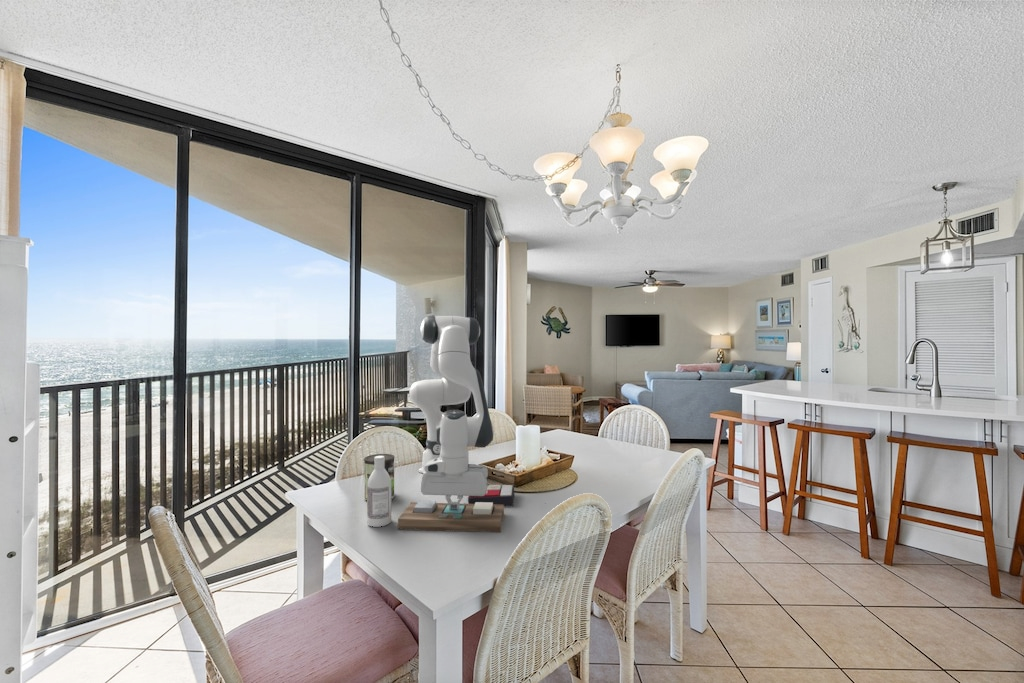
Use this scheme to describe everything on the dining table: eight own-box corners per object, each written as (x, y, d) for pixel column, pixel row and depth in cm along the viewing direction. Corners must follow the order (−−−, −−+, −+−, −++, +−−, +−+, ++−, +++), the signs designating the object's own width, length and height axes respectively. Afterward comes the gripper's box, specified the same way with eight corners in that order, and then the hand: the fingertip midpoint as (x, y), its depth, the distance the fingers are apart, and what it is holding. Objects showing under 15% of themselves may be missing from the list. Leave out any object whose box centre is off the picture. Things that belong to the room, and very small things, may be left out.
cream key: (475, 508, 136) (475, 502, 136) (493, 508, 135) (493, 502, 135) (472, 515, 130) (472, 508, 130) (491, 516, 130) (491, 509, 130)
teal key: (447, 511, 136) (447, 505, 136) (464, 512, 136) (464, 505, 136) (443, 518, 131) (443, 512, 131) (461, 519, 130) (461, 512, 130)
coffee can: (396, 491, 158) (396, 453, 158) (391, 502, 148) (391, 460, 148) (368, 492, 157) (368, 453, 157) (360, 503, 147) (360, 461, 147)
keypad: (411, 511, 139) (411, 501, 139) (503, 513, 137) (503, 503, 137) (397, 529, 126) (397, 517, 126) (500, 531, 124) (500, 520, 124)
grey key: (419, 507, 137) (419, 500, 137) (436, 507, 137) (436, 501, 137) (414, 514, 131) (414, 507, 131) (431, 514, 131) (431, 507, 131)
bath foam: (374, 517, 135) (374, 453, 135) (395, 518, 134) (395, 454, 134) (363, 527, 128) (363, 459, 128) (385, 528, 127) (385, 460, 127)
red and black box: (472, 484, 156) (513, 483, 155) (472, 496, 156) (514, 495, 155) (467, 495, 145) (512, 494, 144) (468, 508, 145) (513, 507, 144)
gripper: (489, 461, 136) (489, 505, 136) (424, 460, 137) (424, 504, 137) (486, 467, 130) (486, 513, 129) (419, 466, 131) (419, 512, 131)
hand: (454, 508), depth 133 cm, fingers closed, pressing on teal key
